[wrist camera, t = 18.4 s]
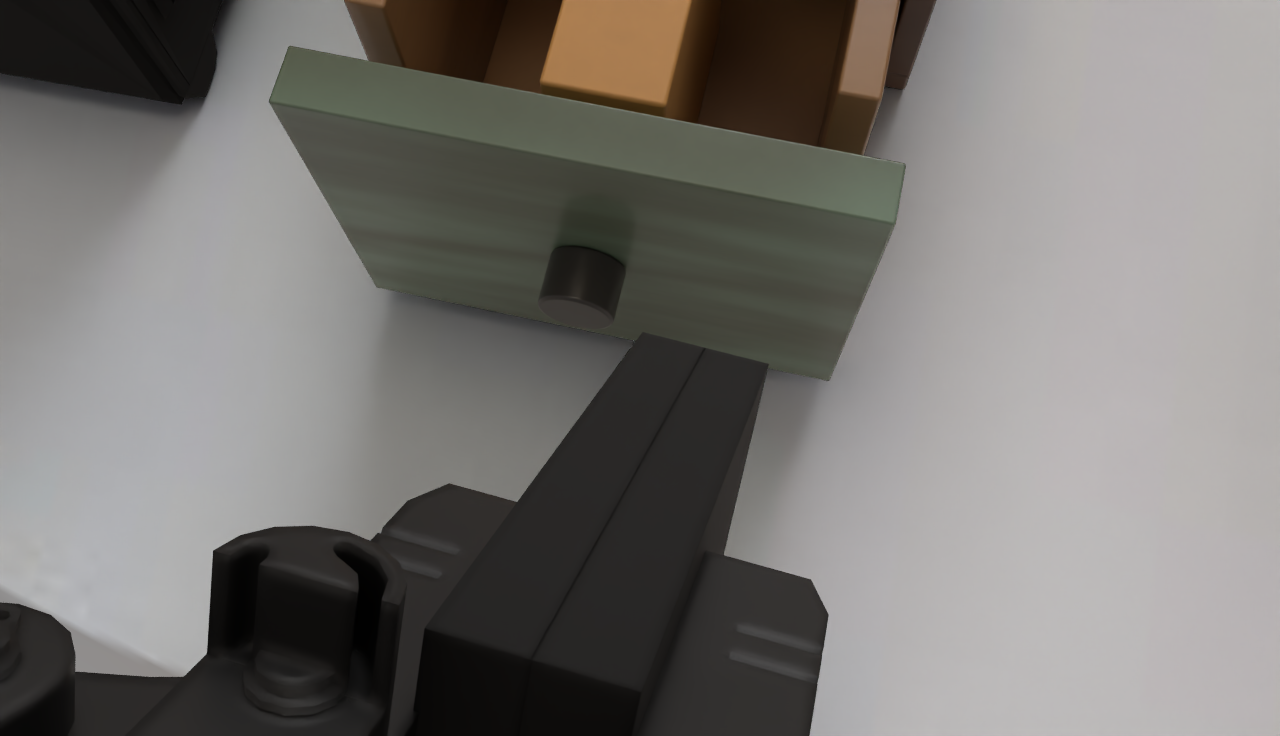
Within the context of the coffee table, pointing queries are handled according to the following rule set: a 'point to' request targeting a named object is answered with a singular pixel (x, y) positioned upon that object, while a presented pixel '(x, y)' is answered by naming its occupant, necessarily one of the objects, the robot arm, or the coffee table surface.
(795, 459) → the coffee table surface
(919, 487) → the coffee table surface
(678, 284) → the drawer
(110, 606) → the coffee table surface
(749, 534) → the coffee table surface
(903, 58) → the cabinet
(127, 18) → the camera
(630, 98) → the orange rectangular block
